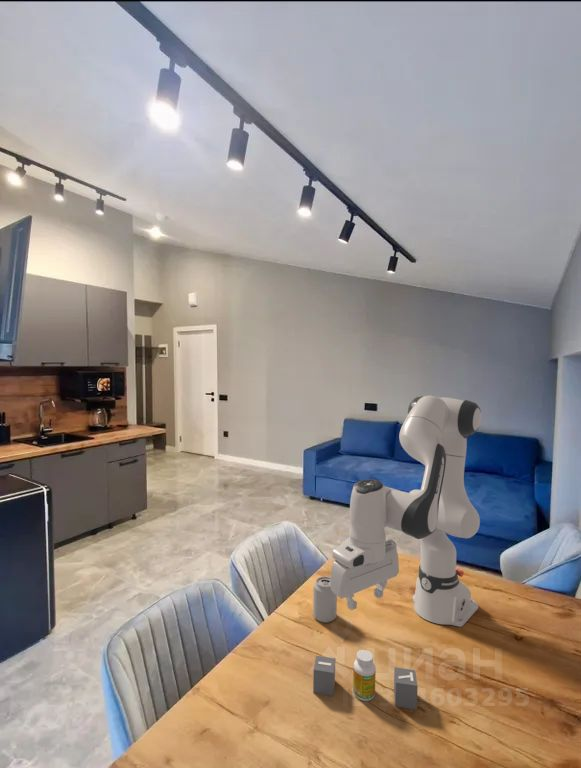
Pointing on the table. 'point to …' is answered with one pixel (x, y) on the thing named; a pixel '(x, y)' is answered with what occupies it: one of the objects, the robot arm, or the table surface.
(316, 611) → the can
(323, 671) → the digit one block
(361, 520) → the robot arm
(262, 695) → the table surface
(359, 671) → the supplement bottle
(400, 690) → the letter t block
